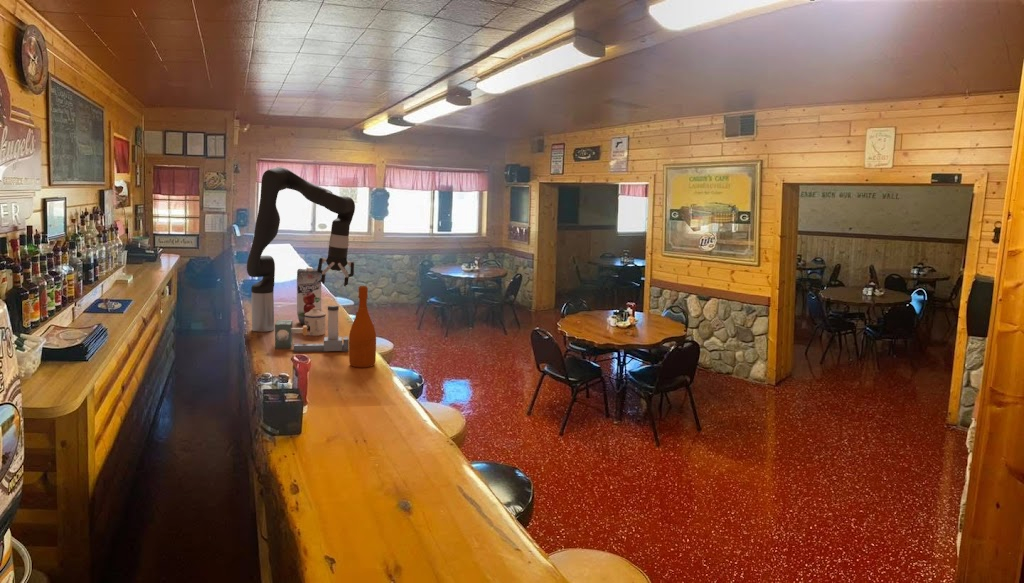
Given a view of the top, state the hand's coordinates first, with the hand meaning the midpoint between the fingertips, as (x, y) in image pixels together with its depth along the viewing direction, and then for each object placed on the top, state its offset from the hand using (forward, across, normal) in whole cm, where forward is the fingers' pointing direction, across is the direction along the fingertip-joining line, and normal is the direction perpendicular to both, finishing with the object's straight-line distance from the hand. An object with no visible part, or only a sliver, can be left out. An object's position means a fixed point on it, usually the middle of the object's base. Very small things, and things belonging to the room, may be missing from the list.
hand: (334, 284), depth 264 cm
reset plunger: (+22, -13, -2) cm, 26 cm away
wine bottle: (+24, +16, -30) cm, 41 cm away
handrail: (+26, -2, -9) cm, 27 cm away
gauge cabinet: (+27, -17, -3) cm, 32 cm away
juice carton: (+28, -13, +41) cm, 51 cm away
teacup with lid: (+27, -7, +18) cm, 33 cm away
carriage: (+25, +3, -9) cm, 27 cm away
